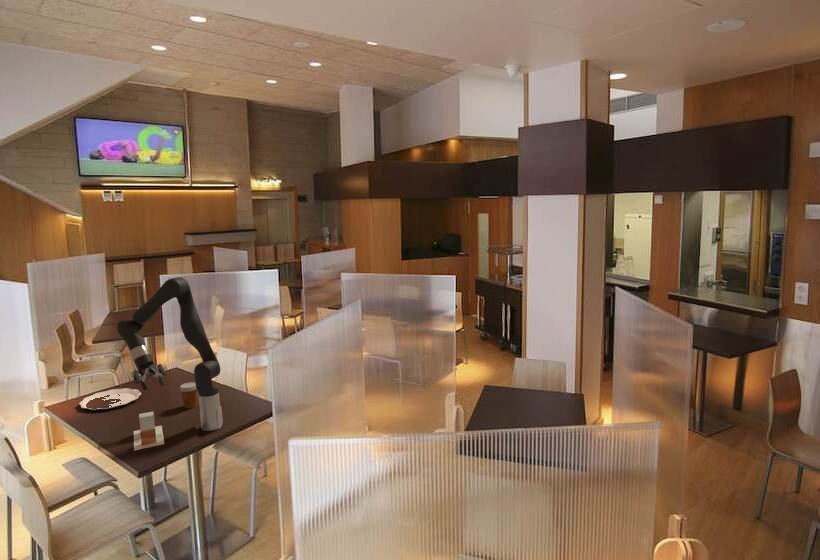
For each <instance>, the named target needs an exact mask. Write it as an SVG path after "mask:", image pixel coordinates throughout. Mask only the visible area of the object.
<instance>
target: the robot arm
mask: <svg viewBox="0 0 820 560" xmlns="http://www.w3.org/2000/svg"><path fill="white" fill-rule="evenodd" d="M192 293H193V292H192V290H191V286H190V284H189V282H188V281H187V279H185V277H179V276H178V277H173V278H172V277H171V278H168V279H167V280H165V281H164V282H163V284H162V285H161V286H160V287H159V288H158V289H157V291H156V292H155V293H154V294H153V295H152V297H150V298H149V299H148V300H147V301H145V303H144V304H143V305H141V306H140V307H139V308H138V309H137V310H135V311H134V312H133V314H132V319H129V318H128V319H121V320H119V321H118V323H117V325H116V330H117V333H118V334H119V336H120V337H121V338H122V339H123V341H124V342H125V343H126V344H127V347H128V349H129V351H130V352H129V353H130V355H131V357H132V358H131V359H132V360H133V362H134V366H135V367H136V369H135V370H133V371H132V372H131V375H132V377H133V381H134V383H135V384H136V385H137V384H140V386H141V389H142V390H143V391H144V392H146V391H147V390H149V387H148V385H147V383H146V378H149V377H154V378H157V379H158V382H159V385H160V386H161V387H163V386H164V385H166V384H165V383H166V382H165V379H164V377H165V375H167V373H166V371H165V370H164V366H163V365H162V364H161V363H159V364H157V365H155V364H154V359H153V358H152V355H151V353H150V352H151V351H150V350H149V349H148V347H147V345H146V343H145V341H144V338H143V336H141V335H138V334H137V333H139V332H140V331H142V329H143V327H144V326H145V325H146V323H147V322H149V320H151V319H152V318H153V317H155V315H156V314H158V311H159V310H160V308H161V307H162V306H163V305H164V304H166V303H168V302H169V301H171V300H172V299H175V298H176V299H177V302H178V306H179V309H180V314H179V315H180V318H179V320H180V321H179V323H180V329H181V330H182V331H181V332H182V333H183V337H184V339H185V341H187V342H188V343H189V344H190V345H191V346H192V347H193V348H194V349H195V350H196V351H197V352H198V354H199V356H200V358H201V361H202V362H200V363H198V364H196V365H195V367H194V370H193V376H194V382H195V384H196V389H197V391H198V395H199V398H198V405H199V406H198V408H199V415H200V427H201V430H202V431H204V432H212V431H216V430H220V429H221V427H222V426H223V424H224V423H223V422H224V419H223V411H222V410H223V408H222V405H221V403H220V401H221V400H220V388H219V386H218V385H217V384H213V380H212V379H215V378H217V377H218V376H219V375H220V374H221V365H220V364H221V363H220V362H219V360H218V358H217V356H216V354H215V352H214V349H213V348H212V346H211V343H210V342H209V339H208V337H207V333H206V331H205V328H204V326H203V322H202V321H201V318H200V316H199V313H198V310H197V307H196V304H195V302H194V298H193V294H192ZM139 375H140V376H139Z"/></svg>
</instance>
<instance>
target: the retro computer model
mask: <svg viewBox="0 0 820 560" xmlns="http://www.w3.org/2000/svg"><path fill="white" fill-rule="evenodd" d="M154 414H155V413H154V411H149V412H143V413H139V414H138V419H139V430H141V431H143V430H148V429H153V428H155V427H156V425H155V415H154Z"/></svg>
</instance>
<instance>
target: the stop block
mask: <svg viewBox="0 0 820 560" xmlns="http://www.w3.org/2000/svg"><path fill="white" fill-rule="evenodd" d="M140 435H141V444H142V445H147V444H151V443H156V432H155V428H153V429H148V430H143V431H140Z"/></svg>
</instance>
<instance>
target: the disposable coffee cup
mask: <svg viewBox="0 0 820 560" xmlns="http://www.w3.org/2000/svg"><path fill="white" fill-rule="evenodd" d="M179 390H180V392H181V397H182V400H183V405H184V408H185V409H193V407H194V408H196V407H197V406H198V404H199V398H198V391H197V389H196V384H195V381H190V382H189V381H188V382H185V383H182V384H181V385H180V386H179Z"/></svg>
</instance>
